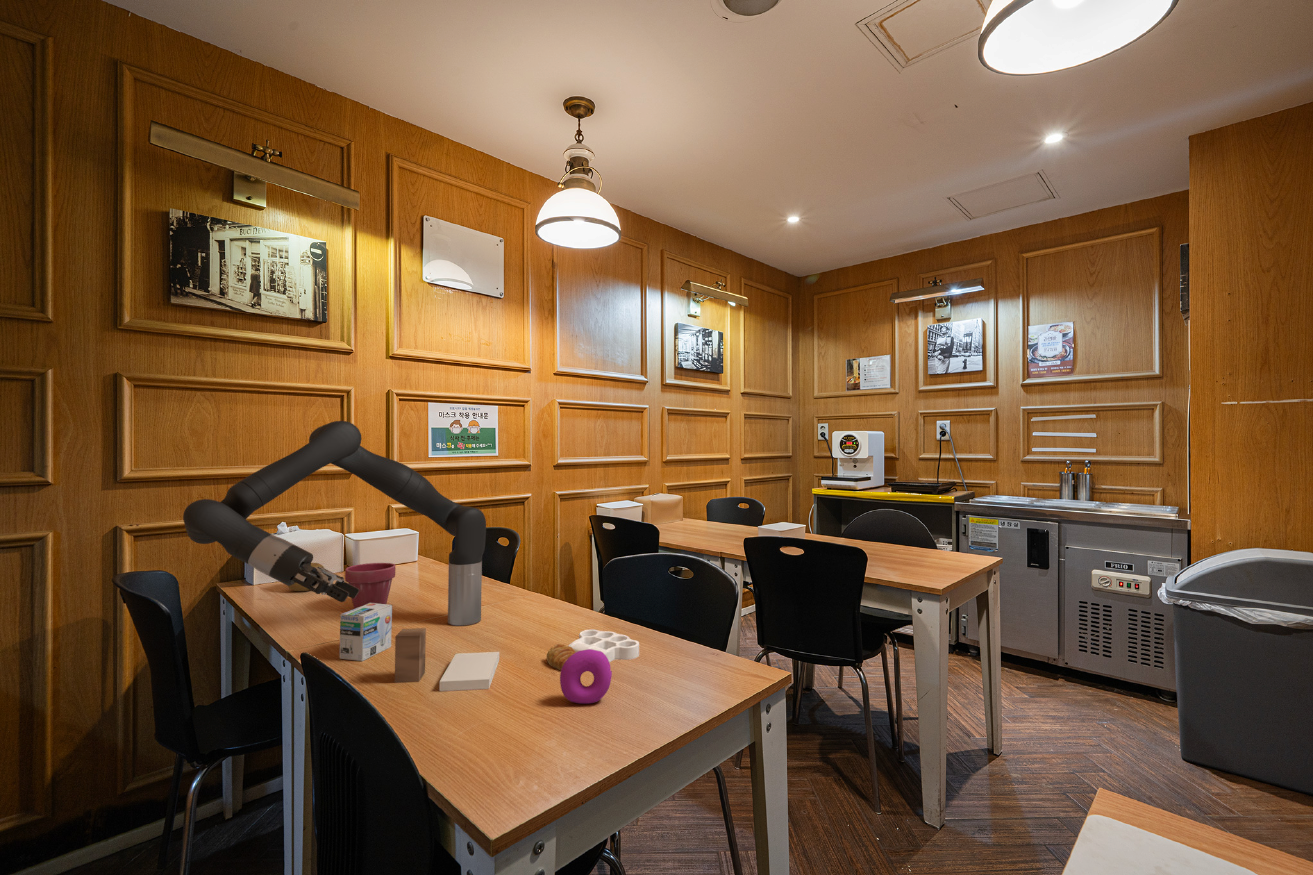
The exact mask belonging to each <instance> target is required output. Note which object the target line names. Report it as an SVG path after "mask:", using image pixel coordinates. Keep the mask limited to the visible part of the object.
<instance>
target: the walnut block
mask: <svg viewBox="0 0 1313 875" xmlns="http://www.w3.org/2000/svg"><path fill="white" fill-rule="evenodd" d="M426 636H427V628H426V627H417V628H402V629H400V630H399V632H397V634H396V635H395V638H394V639H395V642H394V647H395V649H394V684H401V683H403V684H404V683H405V684H406V683H419V682H420V681H421V679H422V678H423V677H424V676H425V674H426V650H427V649H426V648H427V647H426V642H427V641H426V640H427V637H426Z"/></svg>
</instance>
